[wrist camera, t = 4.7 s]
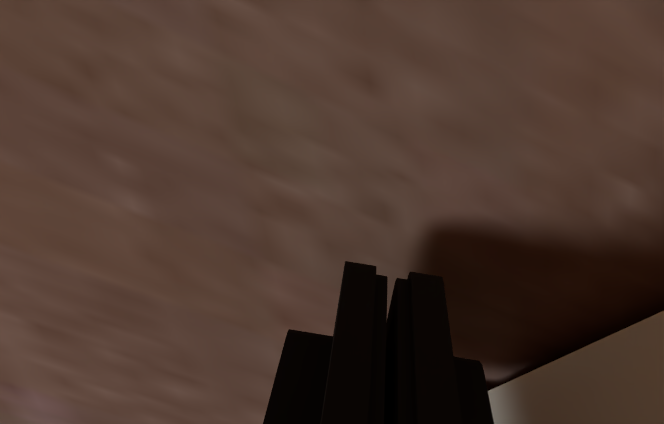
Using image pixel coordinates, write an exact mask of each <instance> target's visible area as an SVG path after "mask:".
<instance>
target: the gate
mask: <svg viewBox="0 0 664 424" xmlns="http://www.w3.org/2000/svg"><path fill="white" fill-rule="evenodd" d="M488 395H489V400H490V405H491V410H492V416H493V421H494V424H664V311H662V312H660V313H657V314H655V315H653V316H651V317H649V318H646V319H644V320H642V321H640V322H638V323H636V324H633V325H631V326H629V327H627V328H625V329H622V330H620V331H618V332H616V333H614V334H611V335H609V336H607V337H605V338H603V339H601V340H598V341H596V342H594V343H592V344H590V345H587V346H585V347H583V348H581V349H579V350H577V351H574V352H572V353H570V354H568V355H566V356H563V357H561V358H559V359H557V360H555V361H552V362H550V363H548V364H546V365H544V366H542V367H539V368H537V369H535V370H533V371H531V372H528V373H526V374H524V375H522V376H520V377H518V378H515V379H513V380H511V381H509V382H507V383H504V384H502V385H500V386H498V387H496V388H493V389H491V390H489V391H488Z"/></svg>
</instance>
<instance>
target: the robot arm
mask: <svg viewBox="0 0 664 424" xmlns="http://www.w3.org/2000/svg"><path fill="white" fill-rule="evenodd" d="M386 319H387V323H386ZM263 424H494V421H493V416H492V410H491V405H490V400H489V395H488V390H487V385H486V380H485V375H484V370H483V367H482V364H481V363H480V362H479V361H477V360H471V359H465V358H459V357H453V351H452V343H451V336H450V328H449V320H448V313H447V305H446V298H445V290H444V282H443V278H442V277H440V276H434V275H428V274H422V273H415V272H410V273H409V275H408V279H407V280H406V279H400V278H397V279H396V281H395V285H394V290H393V295H392V299H391V304H390V309H389V313H388V318H387V276H382V275H376V266H372V265H366V264H360V263H353V262H347V261H345V266H344V272H343V279H342V285H341V291H340V297H339V303H338V309H337V316H336V322H335V328H334V334H333V336H327V335H321V334H315V333H309V332H302V331H296V330H290V329H289V330H288V332H287V336H286V339H285V343H284V347H283V350H282V354H281V358H280V362H279V366H278V369H277V373H276V377H275V381H274V384H273V388H272V392H271V396H270V399H269V403H268V407H267V411H266V415H265V418H264V422H263Z"/></svg>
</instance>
